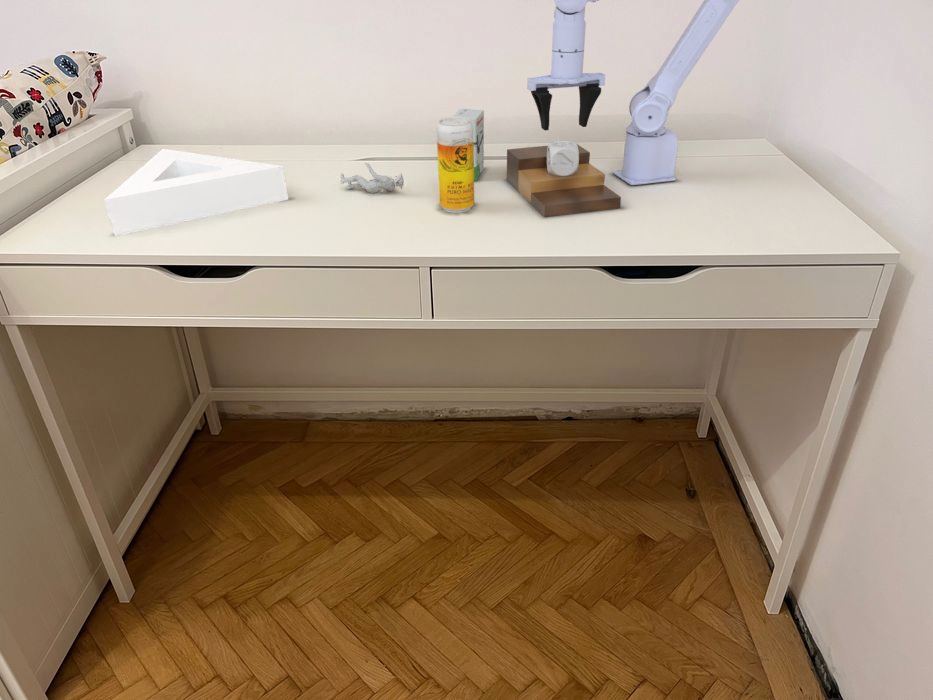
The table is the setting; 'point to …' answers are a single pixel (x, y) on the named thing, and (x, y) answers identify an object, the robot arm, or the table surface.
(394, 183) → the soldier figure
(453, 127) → the beer can
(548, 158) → the die
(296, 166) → the table surface
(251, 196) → the triangle block
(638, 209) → the table surface
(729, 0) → the robot arm
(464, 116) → the ink box
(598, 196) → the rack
